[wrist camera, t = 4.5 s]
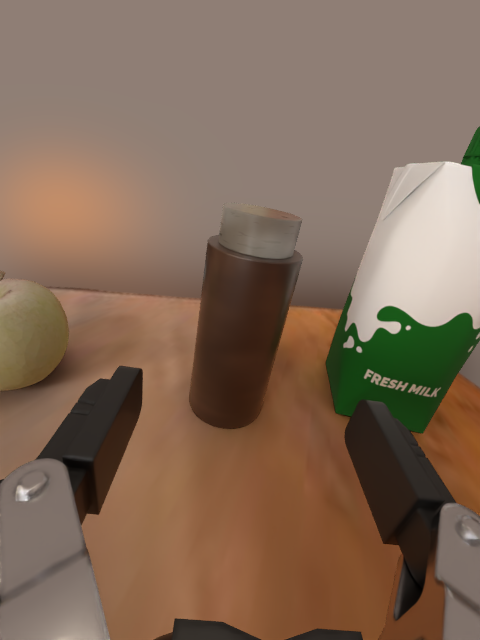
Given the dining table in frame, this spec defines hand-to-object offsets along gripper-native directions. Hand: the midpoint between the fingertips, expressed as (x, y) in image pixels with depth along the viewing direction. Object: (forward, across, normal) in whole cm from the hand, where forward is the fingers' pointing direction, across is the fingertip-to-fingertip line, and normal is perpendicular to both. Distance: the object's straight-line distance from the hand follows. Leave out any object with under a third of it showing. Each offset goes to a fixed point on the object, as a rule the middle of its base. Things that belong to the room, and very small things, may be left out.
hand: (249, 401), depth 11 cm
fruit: (+9, +16, +8) cm, 20 cm away
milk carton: (+12, -13, +9) cm, 20 cm away
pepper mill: (+9, 0, +8) cm, 12 cm away
